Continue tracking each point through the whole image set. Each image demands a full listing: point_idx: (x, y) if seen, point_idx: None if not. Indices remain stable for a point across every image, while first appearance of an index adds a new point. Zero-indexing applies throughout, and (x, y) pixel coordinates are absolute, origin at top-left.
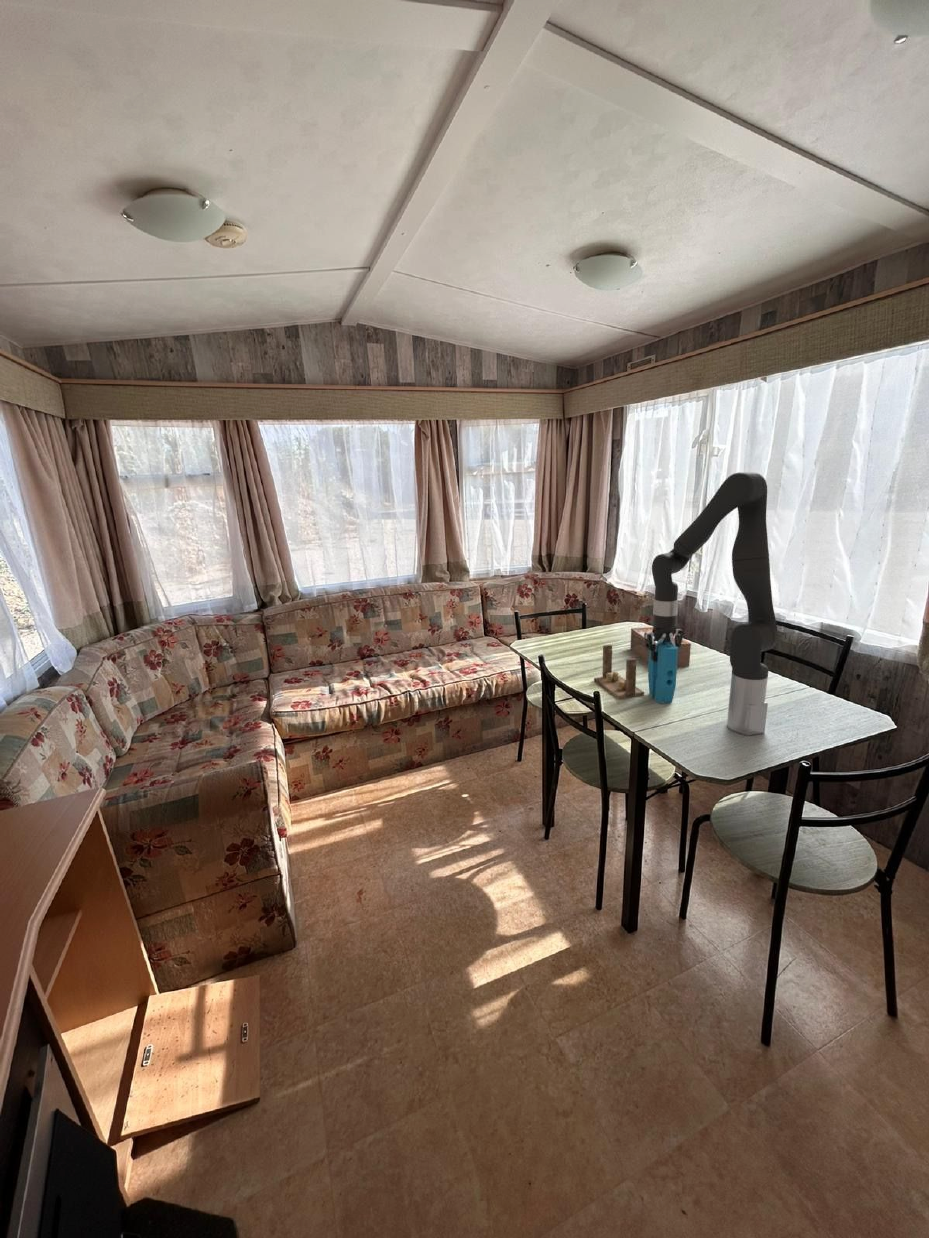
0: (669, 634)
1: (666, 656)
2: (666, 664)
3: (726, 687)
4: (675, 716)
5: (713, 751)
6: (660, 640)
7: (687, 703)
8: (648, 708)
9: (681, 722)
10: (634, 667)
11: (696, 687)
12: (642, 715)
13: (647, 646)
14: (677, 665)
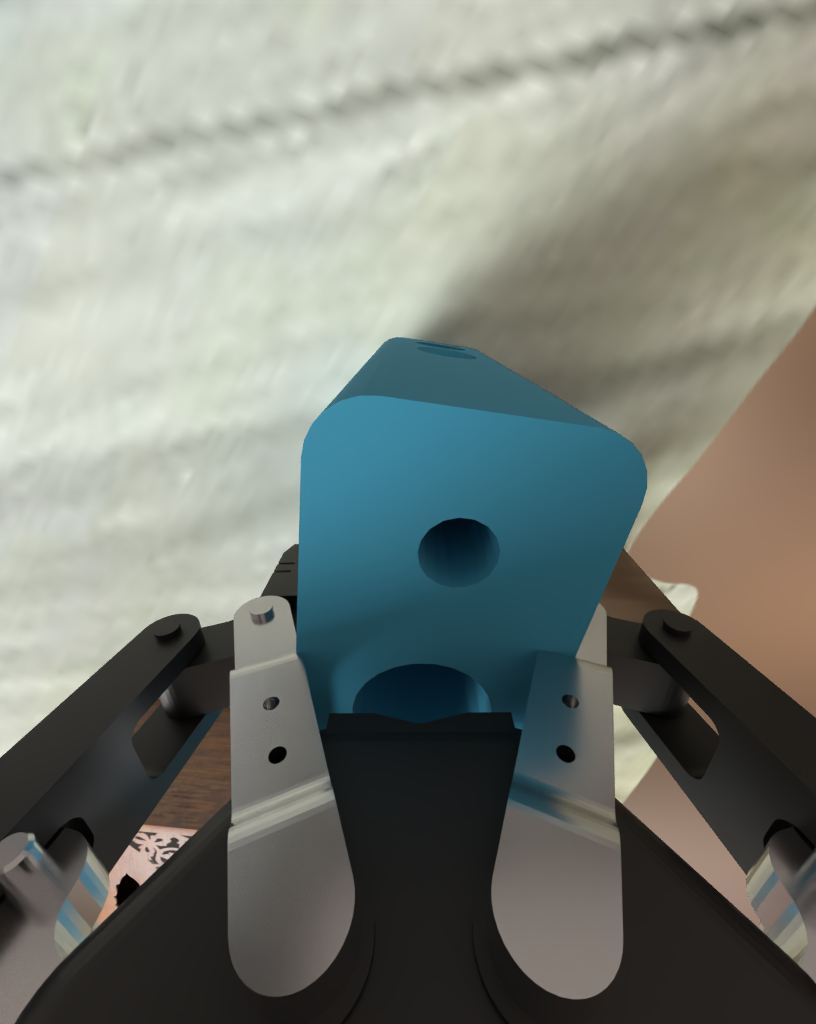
0: (349, 912)
1: (550, 397)
2: (511, 374)
3: (3, 445)
4: (494, 153)
5: None
6: (597, 747)
7: (314, 319)
8: (565, 329)
9: (520, 31)
10: (606, 591)
11: (165, 493)
12: (666, 245)
13: (687, 707)
14: (152, 705)
